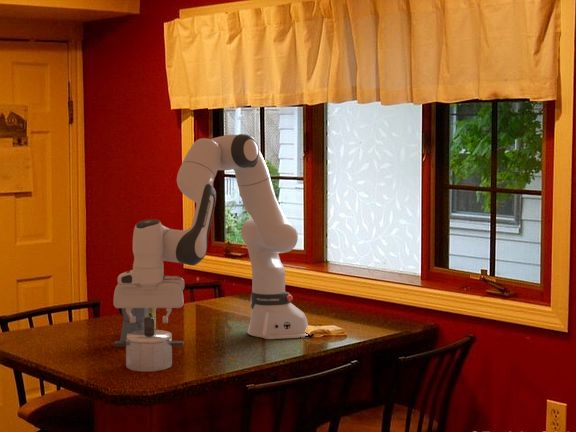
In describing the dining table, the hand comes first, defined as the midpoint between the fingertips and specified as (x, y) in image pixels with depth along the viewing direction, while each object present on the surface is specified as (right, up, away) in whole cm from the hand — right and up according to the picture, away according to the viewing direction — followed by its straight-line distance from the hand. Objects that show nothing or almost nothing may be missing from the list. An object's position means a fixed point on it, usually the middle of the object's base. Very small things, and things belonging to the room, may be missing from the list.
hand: (149, 322), depth 275 cm
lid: (0, -5, +1) cm, 5 cm away
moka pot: (-9, -10, +28) cm, 31 cm away
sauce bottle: (-7, -9, +42) cm, 43 cm away
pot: (0, -13, +1) cm, 13 cm away
